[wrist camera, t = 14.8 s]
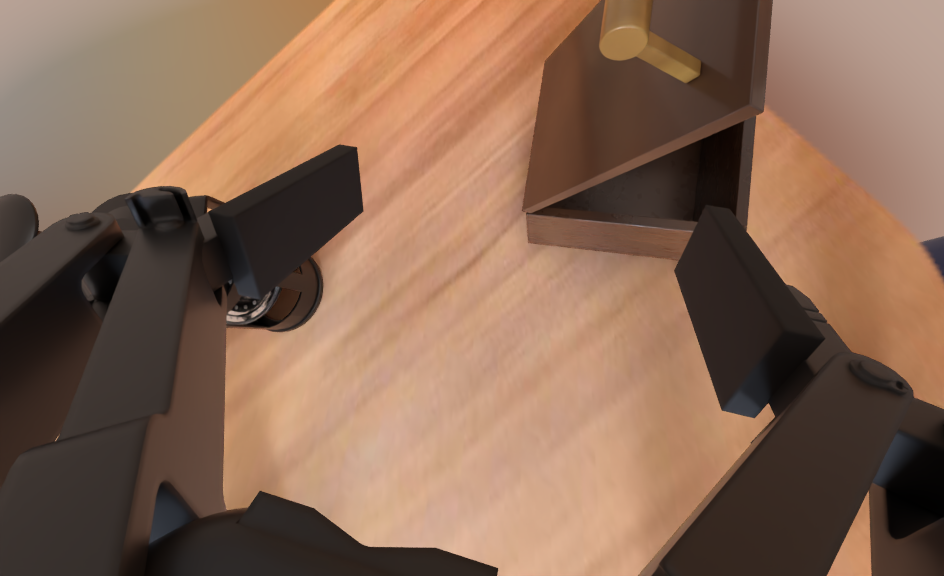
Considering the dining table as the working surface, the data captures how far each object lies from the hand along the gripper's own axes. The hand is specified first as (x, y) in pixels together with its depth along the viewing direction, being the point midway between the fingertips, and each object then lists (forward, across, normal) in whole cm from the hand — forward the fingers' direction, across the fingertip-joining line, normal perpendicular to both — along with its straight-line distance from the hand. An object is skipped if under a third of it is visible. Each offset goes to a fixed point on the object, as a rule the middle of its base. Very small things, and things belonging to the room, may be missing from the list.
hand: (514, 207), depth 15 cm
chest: (+25, +8, -7) cm, 27 cm away
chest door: (+13, +4, +3) cm, 14 cm away
